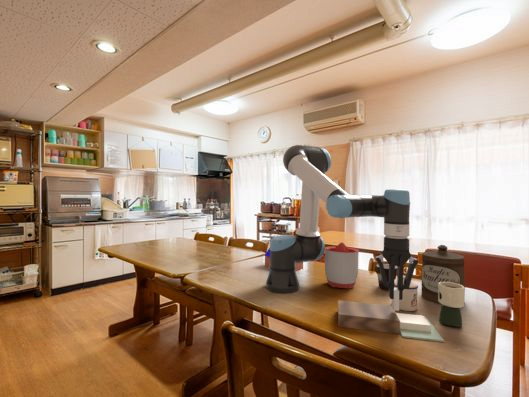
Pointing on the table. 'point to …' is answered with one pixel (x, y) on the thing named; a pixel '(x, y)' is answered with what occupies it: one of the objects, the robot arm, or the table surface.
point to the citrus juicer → (341, 265)
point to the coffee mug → (386, 268)
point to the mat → (422, 334)
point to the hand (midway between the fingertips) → (395, 308)
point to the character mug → (451, 303)
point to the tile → (413, 322)
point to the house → (267, 261)
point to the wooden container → (440, 271)
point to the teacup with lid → (408, 297)
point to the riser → (368, 316)
